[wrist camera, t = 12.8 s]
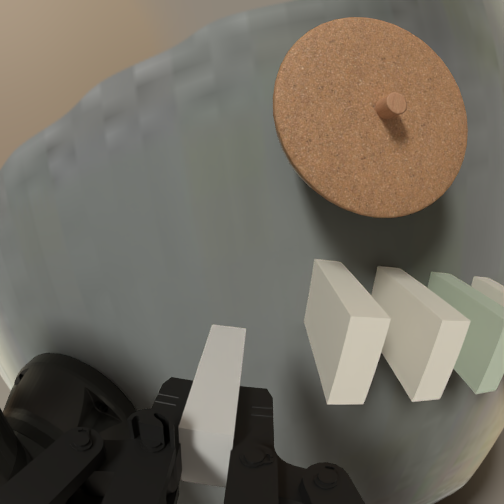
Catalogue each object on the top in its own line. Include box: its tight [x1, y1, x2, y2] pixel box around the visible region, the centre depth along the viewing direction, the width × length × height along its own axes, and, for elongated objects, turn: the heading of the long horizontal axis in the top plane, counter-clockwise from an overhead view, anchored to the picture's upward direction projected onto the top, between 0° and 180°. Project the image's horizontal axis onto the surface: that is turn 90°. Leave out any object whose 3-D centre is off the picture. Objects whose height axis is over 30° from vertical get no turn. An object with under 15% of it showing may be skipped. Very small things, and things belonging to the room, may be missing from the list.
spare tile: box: [427, 272, 504, 394], centre depth 19 cm, size 2×5×10 cm, turn 174°
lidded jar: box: [273, 17, 467, 218], centre depth 16 cm, size 11×11×9 cm
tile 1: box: [304, 259, 391, 405], centre depth 19 cm, size 2×5×10 cm, turn 174°
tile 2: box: [371, 266, 471, 402], centre depth 19 cm, size 2×5×10 cm, turn 174°
